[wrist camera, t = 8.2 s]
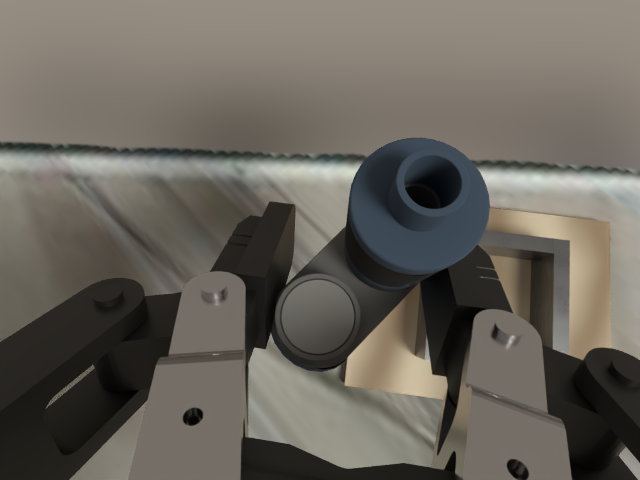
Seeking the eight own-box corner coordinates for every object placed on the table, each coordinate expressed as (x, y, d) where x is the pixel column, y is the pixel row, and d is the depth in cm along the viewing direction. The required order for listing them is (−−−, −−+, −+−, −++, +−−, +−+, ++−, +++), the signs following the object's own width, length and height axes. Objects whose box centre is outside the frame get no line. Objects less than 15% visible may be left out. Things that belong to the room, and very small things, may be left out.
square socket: (414, 355, 28) (424, 360, 25) (424, 233, 29) (435, 224, 26) (543, 373, 27) (568, 379, 24) (545, 248, 29) (569, 240, 26)
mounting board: (344, 383, 28) (344, 385, 27) (365, 197, 31) (366, 193, 30) (602, 419, 27) (612, 423, 26) (600, 225, 30) (609, 221, 29)
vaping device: (408, 279, 17) (562, 183, 6) (323, 366, 17) (294, 463, 5) (365, 238, 18) (426, 70, 6) (281, 322, 17) (164, 315, 5)
